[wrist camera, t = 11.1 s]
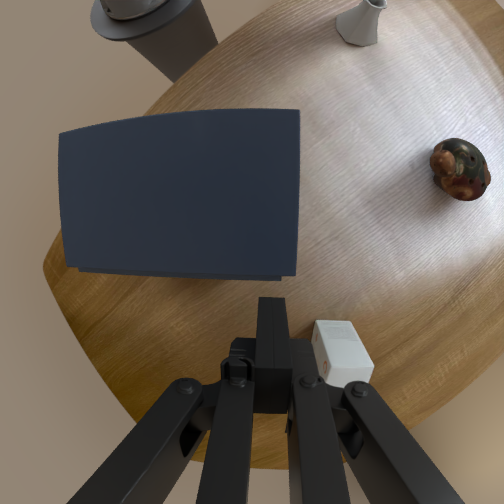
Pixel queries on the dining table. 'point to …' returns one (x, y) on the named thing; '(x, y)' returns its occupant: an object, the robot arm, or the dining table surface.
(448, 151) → the brown ceramic figurine
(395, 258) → the dining table surface
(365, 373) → the small box
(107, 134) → the drawer cabinet
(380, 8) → the flask
